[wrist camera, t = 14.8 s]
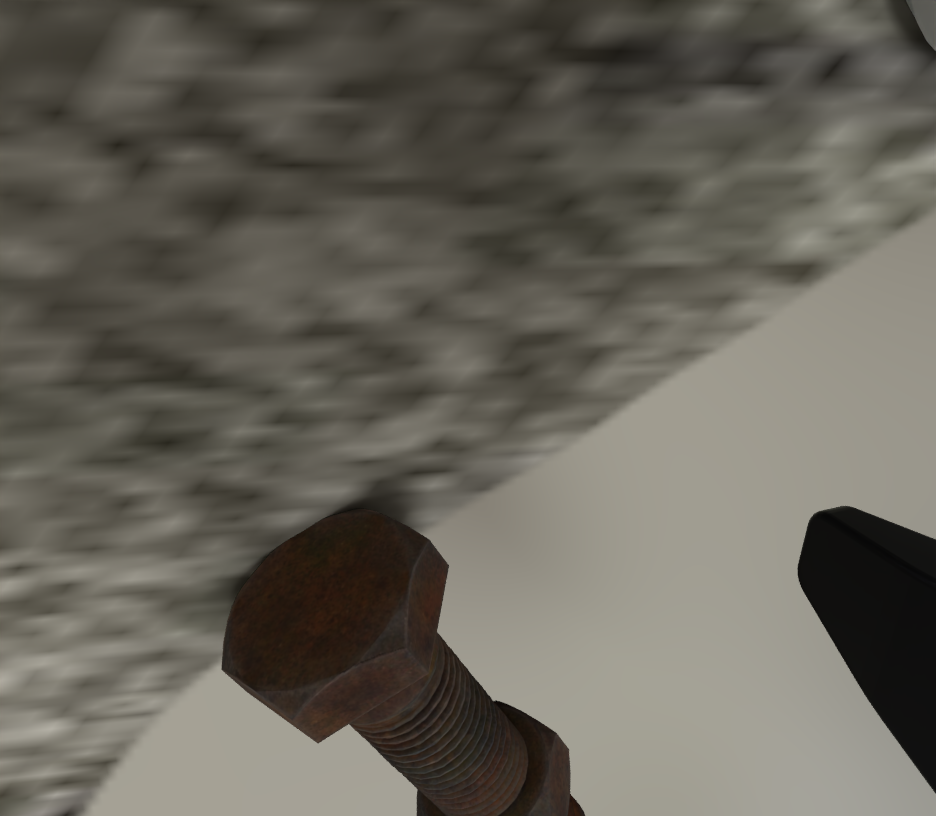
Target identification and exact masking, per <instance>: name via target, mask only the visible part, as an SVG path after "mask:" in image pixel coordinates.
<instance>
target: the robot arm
mask: <svg viewBox="0 0 936 816" xmlns="http://www.w3.org/2000/svg"><path fill="white" fill-rule="evenodd" d="M798 578H799V582H800V585H801V587H802V589H803V591H804V593H805V595H806V597H807V598H808V600H809V602H810V603H811V605H812V607H813V608H814V610H815V612H816V613H817V615H818V617H819V618H820V620H821V622H822V624H823V625H824V627H825V628H826V630H827V632H828V634H829V635H830V637H831V639H832V640H833V642H834V644H835V646H836V647H837V649H838V651H839V652H840V654H841V656H842V657H843V659H844V661H845V662H846V664H847V666H848V668H849V669H850V671H851V673H852V674H853V676H854V678H855V679H856V681H857V683H858V684H859V686H860V687H861V689H862V691H863V692H864V694H865V695H866V697H867V699H868V700H869V702H870V703H871V705H872V706H873V708H874V709H875V710H876V712H877V713H878V715H879V716H880V718H881V719H882V721H883V722H884V723H885V725H886V726H887V728H888V729H889V730H890V731H891V733H892V734H893V736H894V737H895V738H896V740H897V741H898V742H899V744H900V745H901V747H902V748H903V749H904V751H905V752H906V754H907V755H908V756H909V758H910V759H911V760H912V762H913V763H914V765H915V766H916V767H917V769H918V770H919V771H920V773H921V774H922V776H923V777H924V778H925V780H926V781H927V782H928V784H929V785H930V786H931V788H932V789H933V791H934V792H935V793H936V539H933V538H930V537H928V536H925V535H922V534H920V533H918V532H915V531H912V530H910V529H907V528H904V527H902V526H900V525H897V524H895V523H892V522H889V521H887V520H884V519H882V518H879V517H876V516H874V515H871V514H869V513H866V512H863V511H861V510H858V509H856V508H853V507H850V506H840V507H836V508H832V509H827V510H823V511H819V512H817V513H815V514H814V515H813V516H812V517H811V519H810V520H809V523H808V526H807V531H806V535H805V539H804V543H803V547H802V551H801V555H800V559H799V563H798Z"/></svg>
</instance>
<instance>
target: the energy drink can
mask: <svg viewBox="0 0 936 816" xmlns="http://www.w3.org/2000/svg"><path fill="white" fill-rule="evenodd" d="M906 2H907V4H908V6H909V8H910V9H911V11H912V13H913V15H914V16H915V18H916V21H917V23H918V25H919V27H920V29H921V31H922V33H923V35H924V37H925V39H926V41H927V42H928V43H929V44H930V45H931V46H932V48H933V49H934V50H935V51H936V0H906Z"/></svg>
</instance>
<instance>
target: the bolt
mask: <svg viewBox="0 0 936 816" xmlns="http://www.w3.org/2000/svg"><path fill="white" fill-rule="evenodd" d="M448 568H449V565H448V564H447V562H446V561H445V560H444V559H443V557H442V556H441V555H440V553H439V552H438V551H437V549H436V548H435V547H434V545H433V544H432V543H431V541H430V540H429V539H427V538H426V537H424V536H423V535H421V534H419V533H418V532H416V531H415V530H413V529H411V528H410V527H408V526H406V525H404V524H402V523H400V522H398V521H396V520H394V519H392V518H389V517H387V516H385V515H383V514H380V513H378V512H376V511H372V510H367V509H354V510H351V511H347V512H343V513H339V514H335V515H332V516H330V517H327V518H324V519H322V520H320V521H319V522H317V523H315V524H314V525H312V526H311V527H309V528H307V529H306V530H304V531H303V532H301V533H299V534H297V535H296V536H294V537H292V538H290V539H289V540H287V541H286V542H284V543H283V544H281V545H280V546H279V547H277V548H276V549H275V550H274V551H273V552H272V553H271V554H270V555H269V556H268V557H267V558H266V559H265V560H264V561H263V562H262V564H261V565H260V566H259V567H258V568H257V569H256V571H255V572H254V573H253V574H252V575H251V577H250V578H249V579H248V580H247V581H246V583H245V584H244V586H243V587H242V589H241V590H240V591H239V593H238V595H237V597H236V599H235V601H234V604H233V606H232V608H231V611H230V614H229V618H228V621H227V626H226V632H225V637H224V643H223V656H222V670H223V671H224V672H225V673H226V674H227V675H228V676H229V677H231V678H232V679H233V680H234V681H235V682H236V683H237V684H239V685H240V686H241V687H242V688H243V689H244V690H245V691H247V692H248V693H249V694H251V695H252V696H253V697H255V698H256V699H258V700H259V701H260V702H262V703H263V704H264V705H266V706H267V707H268V708H270V709H271V710H273V711H274V712H275V713H277V714H278V715H279V716H281V717H282V718H284V719H285V720H286V721H288V722H289V723H291V724H292V725H293V726H295V727H296V728H297V729H299V730H300V731H302V732H303V733H304V734H306V735H307V736H308V737H310V738H311V739H313V740H314V741H315V742H317V743H319V742H321V741H322V740H324V739H326V738H327V737H329V736H330V735H332V734H333V733H335V732H337V731H338V730H340V729H342V728H343V727H345V726H346V725H348V724H350V725H351V726H352V727H353V728H354V729H355V730H356V731H357V732H358V733H359V734H360V735H361V736H362V737H363V738H365V739H366V740H367V741H368V742H369V743H370V744H371V745H372V746H373V747H374V748H375V749H376V750H377V751H378V752H379V753H380V754H381V755H382V756H383V757H384V758H385V759H386V760H387V761H388V762H389V763H390V764H391V765H392V766H393V767H395V768H396V769H397V770H398V771H399V772H400V773H402V774H403V776H405V777H406V778H407V779H408V780H409V781H410V782H411V783H412V784H413V785H414V786H415V787H416V788H417V789H418V791H417V816H585V814H584V811H583V810H582V808H581V807H580V805H579V804H578V803H577V801H576V800H575V799H574V798H573V797H572V796H571V794H570V761H569V749H568V748H567V746H566V745H565V744H564V743H563V741H562V740H561V738H560V737H559V736H558V735H557V733H556V732H554V731H553V730H551V729H550V728H548V727H547V726H545V725H544V724H542V723H541V722H539V721H538V720H536V719H534V718H532V717H531V716H529V715H527V714H526V713H524V712H522V711H521V710H518V709H516V708H514V707H512V706H510V705H508V704H505V703H502V702H500V701H497V700H495V701H492V699H491V697H490V696H489V695H488V694H487V693H486V691H485V690H484V689H483V687H482V686H481V685H480V684H479V682H477V681H476V680H475V678H474V677H473V676H472V675H471V673H470V672H469V671H468V669H467V668H466V667H465V666H464V664H463V663H462V662H461V661H460V660H459V658H458V657H457V656H456V654H454V652H453V651H452V649H450V647H448V645H447V644H446V642H445V641H444V640H443V639H442V637H441V636H440V635H439V634H438V633H437V628H438V623H439V617H440V612H441V606H442V601H443V595H444V590H445V584H446V578H447V573H448Z"/></svg>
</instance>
